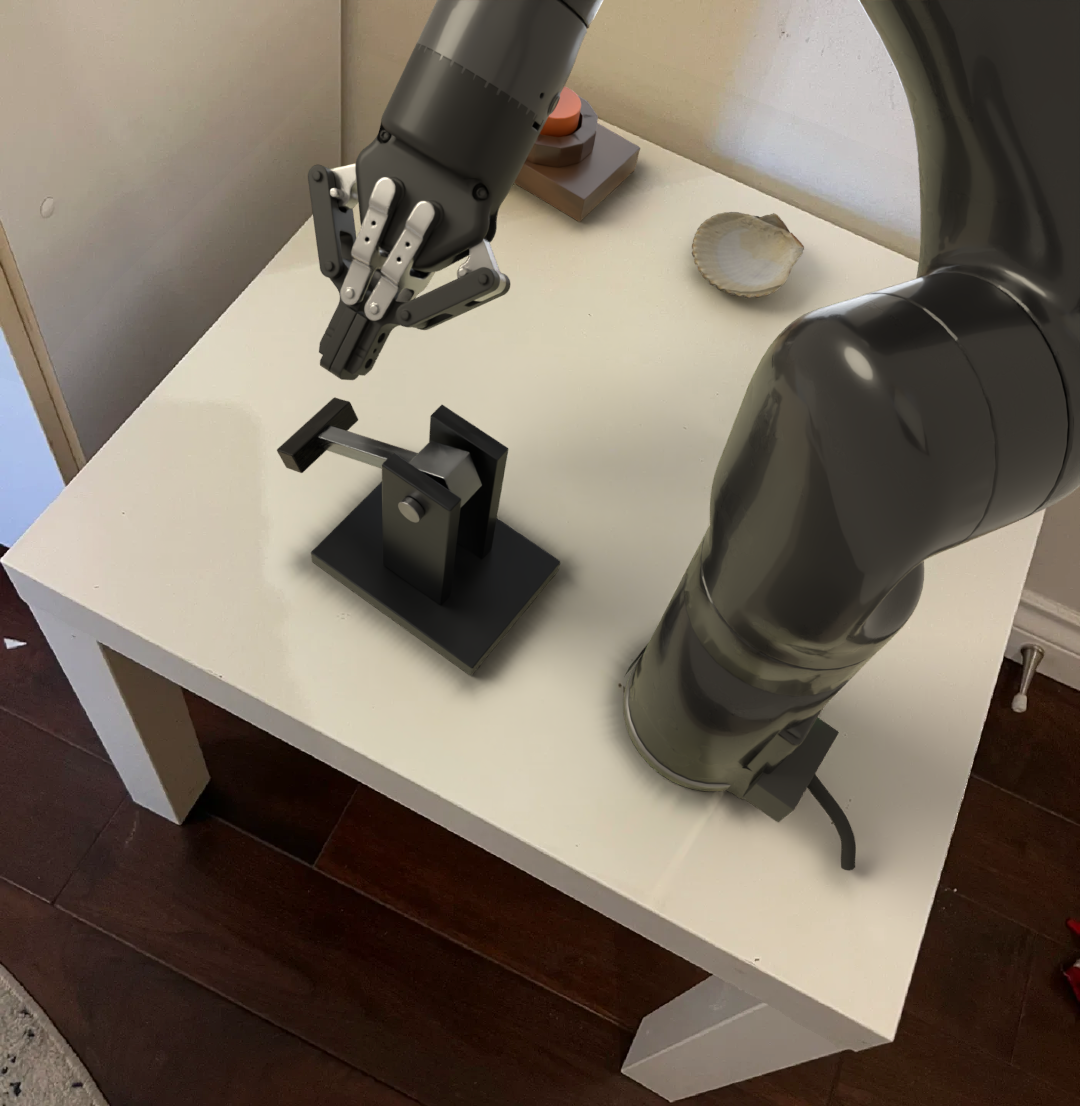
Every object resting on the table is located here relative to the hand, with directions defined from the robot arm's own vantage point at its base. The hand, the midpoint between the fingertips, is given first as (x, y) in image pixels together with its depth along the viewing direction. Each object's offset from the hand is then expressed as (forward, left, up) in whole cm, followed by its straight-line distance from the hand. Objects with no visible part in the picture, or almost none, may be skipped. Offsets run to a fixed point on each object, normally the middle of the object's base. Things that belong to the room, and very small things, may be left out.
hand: (337, 373), depth 58 cm
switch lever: (-5, +2, -2) cm, 6 cm away
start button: (+7, -33, -6) cm, 34 cm away
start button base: (+7, -33, -9) cm, 34 cm away
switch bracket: (-9, +2, -9) cm, 13 cm away
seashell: (-11, -33, -9) cm, 36 cm away
